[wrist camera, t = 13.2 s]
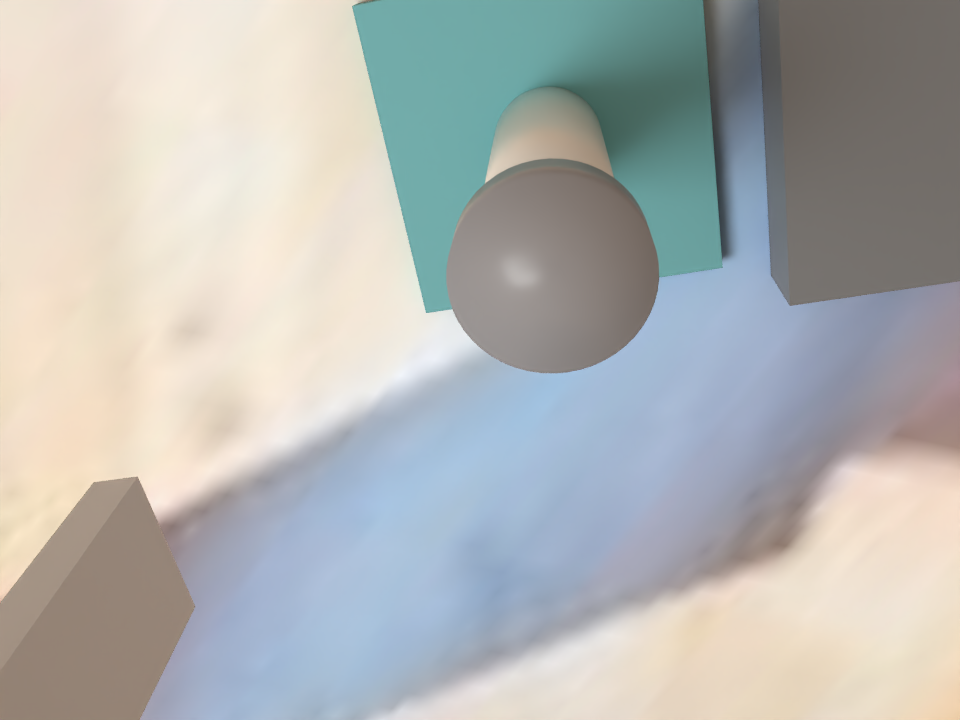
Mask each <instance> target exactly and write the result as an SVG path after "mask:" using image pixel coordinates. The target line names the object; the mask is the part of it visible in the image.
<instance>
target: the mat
mask: <svg viewBox="0 0 960 720" xmlns="http://www.w3.org/2000/svg"><path fill="white" fill-rule="evenodd" d="M352 8H353V12H354V16H355V20H356V24H357V28H358V32H359V37H360V41H361V45H362V49H363V53H364V57H365V61H366V66H367V70H368V74H369V78H370V82H371V86H372V90H373V95H374V99H375V103H376V107H377V111H378V115H379V119H380V124H381V128H382V132H383V136H384V140H385V144H386V148H387V153H388V157H389V161H390V165H391V169H392V173H393V177H394V182H395V186H396V190H397V194H398V198H399V202H400V206H401V210H402V215H403V219H404V223H405V227H406V231H407V235H408V239H409V244H410V248H411V252H412V256H413V260H414V264H415V268H416V273H417V277H418V281H419V285H420V289H421V293H422V297H423V302H424V306H425V310H426V313H430V312H436V311H443V310H449V309H452V306H451V303H450V300H449V296H448V290H447V283H446V269H447V261H448V256H449V252H450V248H451V244H452V240H453V237H454V233H455V229H456V226H457V223H458V220H459V218H460V216H461V214H462V212H463V210H464V208H465V207H466V205H467V203H468V202H469V200H470V199H471V198H472V197H473V195H474V194H475V193H476V192H477V191H478V190H479V189H480V188H481V187H482V186H483V185H484V184H485V179H486V174H487V169H488V164H489V159H490V154H491V149H492V144H493V140H494V135H495V130H496V126H497V123H498V121H499V118H500V116H501V115H502V113H503V111H504V110H505V109H506V107H507V106H508V105H509V104H510V103H511V102H512V101H513V100H514V99H515V98H517V97H518V96H519V95H521V94H523V93H525V92H527V91H529V90H532V89H536V88H540V87H558V88H563V89H566V90H569V91H571V92H573V93H575V94H577V95H578V96H580V97H581V98H583V99H584V100H585V101H586V102H587V103H588V104H589V105H590V106H591V108H592V109H593V111H594V112H595V114H596V116H597V118H598V121H599V124H600V127H601V131H602V134H603V138H604V142H605V146H606V149H607V153H608V157H609V161H610V164H611V168H612V172H613V176H614V178H615V179H616V180H617V181H618V182H620V183H621V184H622V185H623V186H624V187H625V188H626V189H627V190H628V191H629V192H630V193H631V194H632V195H633V197H634V198H635V200H636V201H637V203H638V204H639V206H640V208H641V210H642V212H643V214H644V216H645V218H646V221H647V224H648V227H649V230H650V233H651V236H652V239H653V242H654V245H655V248H656V251H657V257H658V262H659V277H665V276H672V275H678V274H685V273H691V272H698V271H704V270H711V269H717V268H723V267H722V254H721V240H720V226H719V212H718V199H717V185H716V171H715V158H714V144H713V130H712V116H711V103H710V89H709V75H708V62H707V48H706V34H705V20H704V7H703V0H373V1H369V2H364V3H359V4H356V5H354V6H352Z"/></svg>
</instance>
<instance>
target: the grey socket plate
mask: <svg viewBox="0 0 960 720" xmlns="http://www.w3.org/2000/svg"><path fill="white" fill-rule="evenodd" d="M758 4H759V26H760V47H761V69H762V91H763V112H764V134H765V155H766V177H767V198H768V220H769V241H770V263H771V276H772V278H773V279H774V281H775V283H776V284H777V286H778V288H779V289H780V291H781V292H782V294H783V296H784V297H785V299H786V300H787V302H788V304H789V305H790V306H792V305H799V304H806V303H812V302H819V301H826V300H833V299H840V298H847V297H854V296H861V295H867V294H874V293H881V292H888V291H895V290H902V289H909V288H916V287H922V286H929V285H936V284H943V283H950V282H957V281H960V0H758Z"/></svg>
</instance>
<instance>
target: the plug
mask: <svg viewBox="0 0 960 720" xmlns="http://www.w3.org/2000/svg"><path fill="white" fill-rule="evenodd" d="M446 283H447V290H448V296H449V300H450V303H451V306H452V309H453V311H454V313H455V316H456V318H457V320H458V322H459V323H460V325H461V326H462V328H463V330H464V331H465V332H466V333H467V335H468V336H469V337H470V338H471V339H472V340H473V341H474V342H475V343H476V344H477V345H478V346H479V347H480V348H481V349H482V350H484V351H485V352H487V353H488V354H489V355H491V356H492V357H494V358H496V359H498V360H499V361H501V362H503V363H505V364H508V365H510V366H513V367H515V368H519V369H523V370H526V371H532V372H538V373H564V372H571V371H576V370H581V369H584V368H587V367H590V366H593V365H595V364H597V363H600V362H602V361H604V360H606V359H607V358H609V357H611V356H612V355H614V354H616V353H617V352H618V351H619V350H621V349H622V348H623V347H625V346H626V345H627V344H628V343H629V342H630V341H631V340H632V339H633V338H634V337H635V336H636V334H637V333H638V332H639V330H640V329H641V328H642V327H643V325H644V323H645V322H646V320H647V318H648V316H649V315H650V312H651V310H652V307H653V305H654V302H655V299H656V295H657V291H658V283H659V262H658V257H657V251H656V248H655V245H654V242H653V239H652V236H651V233H650V230H649V227H648V224H647V221H646V218H645V216H644V214H643V212H642V210H641V208H640V206H639V204H638V203H637V201H636V200H635V198H634V197H633V195H632V194H631V193H630V192H629V191H628V190H627V189H626V188H625V187H624V186H623V185H622V184H621V183H620V182H618V181H617V180H616V179H615V178H614V176H613V172H612V168H611V164H610V161H609V157H608V153H607V149H606V146H605V142H604V138H603V134H602V131H601V127H600V124H599V121H598V118H597V116H596V114H595V112H594V111H593V109H592V108H591V106H590V105H589V104H588V103H587V102H586V101H585V100H584V99H583V98H581V97H580V96H578V95H577V94H575V93H573V92H571V91H569V90H566V89H563V88H558V87H540V88H536V89H532V90H529V91H527V92H525V93H523V94H521V95H519V96H518V97H517V98H515V99H514V100H513V101H512V102H511V103H510V104H509V105H508V106H507V107H506V109H505V110H504V111H503V113H502V115H501V116H500V118H499V121H498V123H497V126H496V130H495V135H494V140H493V144H492V149H491V154H490V159H489V164H488V169H487V174H486V179H485V184H484V185H483V186H482V187H481V188H480V189H479V190H478V191H477V192H476V193H475V194H474V195H473V197H472V198H471V199H470V200H469V202H468V203H467V205H466V207H465V208H464V210H463V212H462V214H461V216H460V218H459V220H458V223H457V226H456V229H455V233H454V237H453V240H452V244H451V248H450V252H449V256H448V261H447V269H446Z"/></svg>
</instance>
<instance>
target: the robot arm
mask: <svg viewBox="0 0 960 720" xmlns="http://www.w3.org/2000/svg"><path fill="white" fill-rule="evenodd" d="M194 608H195V605H194V603H193V600H192V598H191V596H190V594H189V591H188V589H187V587H186V585H185V582H184V580H183V578H182V576H181V573H180V571H179V569H178V566H177V564H176V562H175V560H174V557H173V555H172V553H171V551H170V548H169V546H168V544H167V542H166V539H165V537H164V535H163V533H162V530H161V528H160V526H159V524H158V521H157V519H156V517H155V515H154V512H153V510H152V508H151V506H150V503H149V501H148V499H147V497H146V494H145V492H144V490H143V488H142V485H141V483H140V481H139V479H138V477H131V478H123V479H116V480H108V481H101V482H94V483H93V484H92V485H91V487H90V488H89V489H88V490H87V492H86V493H85V494H84V496H83V497H82V498H81V499H80V501H79V502H78V503H77V505H76V506H75V507H74V508H73V510H72V511H71V512H70V514H69V515H68V516H67V517H66V519H65V520H64V521H63V523H62V524H61V525H60V526H59V528H58V529H57V530H56V532H55V533H54V534H53V536H52V537H51V538H50V539H49V541H48V542H47V543H46V545H45V546H44V547H43V548H42V550H41V551H40V552H39V554H38V555H37V556H36V557H35V559H34V560H33V561H32V563H31V564H30V565H29V566H28V568H27V569H26V570H25V572H24V573H23V574H22V575H21V577H20V578H19V579H18V581H17V582H16V583H15V584H14V586H13V587H12V588H11V590H10V591H9V592H8V594H7V595H6V596H5V597H4V599H3V600H2V601H1V603H0V720H140V718H141V716H142V714H143V712H144V710H145V708H146V706H147V703H148V701H149V699H150V697H151V695H152V693H153V691H154V689H155V687H156V685H157V683H158V681H159V679H160V677H161V675H162V673H163V671H164V669H165V667H166V665H167V663H168V661H169V659H170V657H171V655H172V653H173V651H174V649H175V647H176V645H177V643H178V641H179V639H180V637H181V635H182V633H183V630H184V628H185V626H186V624H187V622H188V620H189V618H190V616H191V614H192V612H193V610H194Z"/></svg>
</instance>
